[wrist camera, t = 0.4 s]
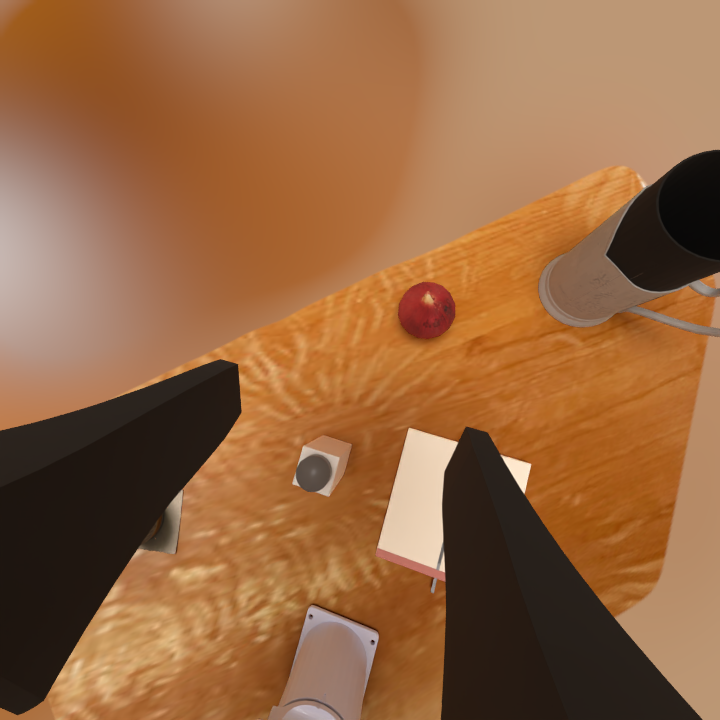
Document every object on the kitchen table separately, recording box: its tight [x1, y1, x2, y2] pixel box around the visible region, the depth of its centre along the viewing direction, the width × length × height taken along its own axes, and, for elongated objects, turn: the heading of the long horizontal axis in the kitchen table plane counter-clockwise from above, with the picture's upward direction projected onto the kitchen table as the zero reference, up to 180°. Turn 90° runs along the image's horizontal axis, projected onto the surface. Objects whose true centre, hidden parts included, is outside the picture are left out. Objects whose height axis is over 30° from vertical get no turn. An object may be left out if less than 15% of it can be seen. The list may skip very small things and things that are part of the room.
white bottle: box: [292, 435, 352, 497], centre depth 31 cm, size 4×4×9 cm
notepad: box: [376, 428, 531, 593], centre depth 32 cm, size 17×13×1 cm
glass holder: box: [538, 150, 720, 337], centre depth 26 cm, size 9×14×15 cm, turn 41°
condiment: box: [138, 490, 183, 554], centre depth 31 cm, size 7×8×12 cm
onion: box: [398, 282, 455, 339], centre depth 31 cm, size 6×6×8 cm
